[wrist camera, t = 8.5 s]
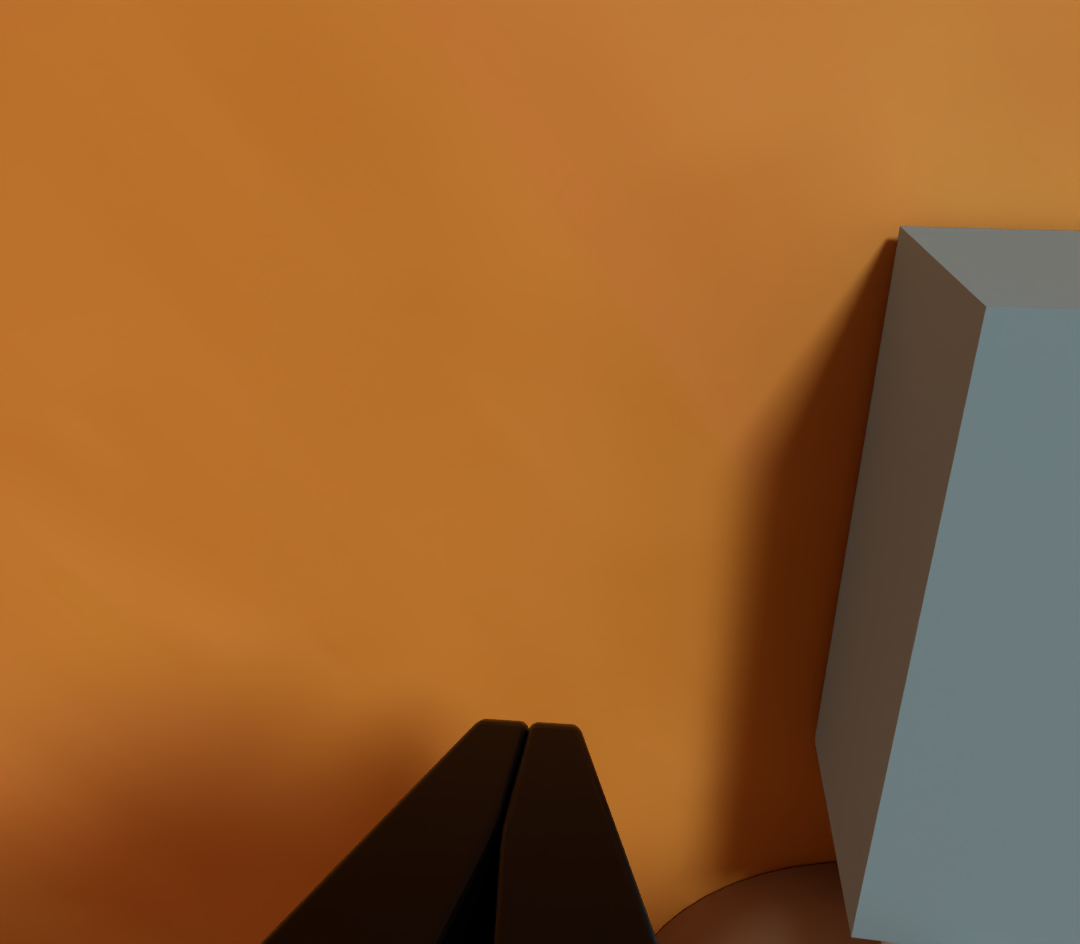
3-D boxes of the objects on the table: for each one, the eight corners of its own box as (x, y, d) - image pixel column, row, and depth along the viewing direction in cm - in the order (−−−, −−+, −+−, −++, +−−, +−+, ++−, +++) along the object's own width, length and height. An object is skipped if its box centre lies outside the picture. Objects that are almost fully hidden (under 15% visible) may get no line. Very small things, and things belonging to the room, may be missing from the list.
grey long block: (995, 838, 17) (1089, 1081, 13) (799, 819, 18) (834, 1049, 14) (1173, 232, 12) (1403, 329, 8) (899, 224, 13) (995, 315, 9)
